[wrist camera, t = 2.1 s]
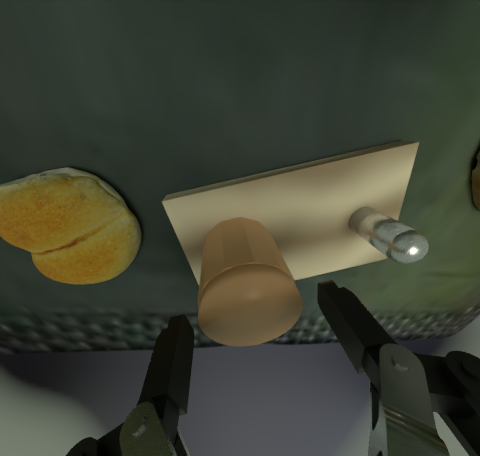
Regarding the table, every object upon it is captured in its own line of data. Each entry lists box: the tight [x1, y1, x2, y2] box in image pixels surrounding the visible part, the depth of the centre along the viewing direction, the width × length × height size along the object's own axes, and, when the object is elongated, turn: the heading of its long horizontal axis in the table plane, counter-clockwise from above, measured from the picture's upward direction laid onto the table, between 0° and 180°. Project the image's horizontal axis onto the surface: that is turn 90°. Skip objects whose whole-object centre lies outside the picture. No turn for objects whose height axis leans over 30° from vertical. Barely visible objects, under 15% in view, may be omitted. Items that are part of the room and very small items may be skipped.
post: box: [348, 207, 429, 263], centre depth 14 cm, size 2×2×5 cm
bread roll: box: [0, 167, 141, 284], centre depth 13 cm, size 8×9×4 cm
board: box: [162, 141, 419, 285], centre depth 16 cm, size 11×19×2 cm, turn 101°
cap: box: [198, 217, 303, 346], centre depth 13 cm, size 6×6×6 cm
